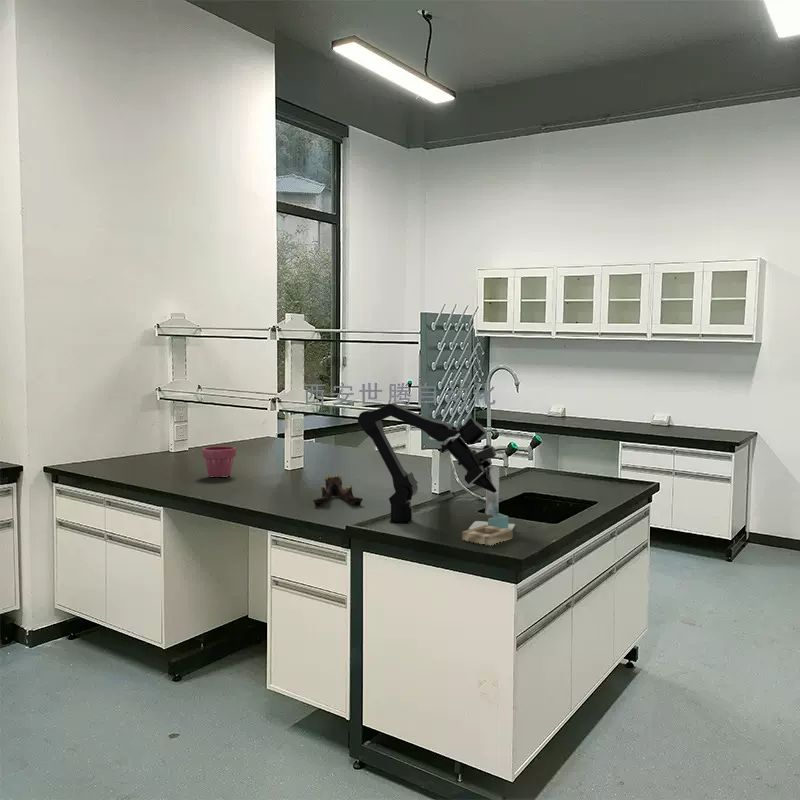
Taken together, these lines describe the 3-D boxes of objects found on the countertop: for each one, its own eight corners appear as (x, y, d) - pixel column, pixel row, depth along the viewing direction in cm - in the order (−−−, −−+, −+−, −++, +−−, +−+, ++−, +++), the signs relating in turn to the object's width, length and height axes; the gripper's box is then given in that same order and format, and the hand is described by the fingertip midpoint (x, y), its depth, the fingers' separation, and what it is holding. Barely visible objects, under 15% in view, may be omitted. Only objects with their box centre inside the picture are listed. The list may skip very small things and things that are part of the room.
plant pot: (215, 473, 331) (215, 445, 330) (242, 475, 326) (242, 446, 325) (196, 478, 318) (195, 448, 317) (223, 480, 313) (223, 450, 312)
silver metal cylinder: (488, 515, 230) (489, 468, 229) (483, 512, 234) (484, 466, 233) (500, 515, 231) (501, 467, 230) (495, 512, 235) (496, 465, 234)
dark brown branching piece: (365, 501, 285) (370, 477, 284) (357, 520, 261) (363, 494, 259) (322, 492, 286) (327, 467, 284) (310, 510, 261) (315, 483, 260)
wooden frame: (462, 540, 218) (462, 531, 217) (484, 532, 227) (485, 524, 227) (490, 546, 211) (490, 537, 211) (512, 538, 220) (512, 530, 220)
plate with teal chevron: (468, 530, 229) (468, 517, 229) (475, 522, 240) (475, 510, 239) (510, 533, 225) (510, 520, 225) (514, 525, 236) (515, 513, 236)
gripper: (475, 440, 223) (511, 478, 220) (486, 434, 241) (519, 469, 238) (450, 464, 226) (484, 502, 223) (462, 456, 243) (494, 491, 241)
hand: (496, 490), depth 231 cm, fingers closed on silver metal cylinder, 4 cm apart
